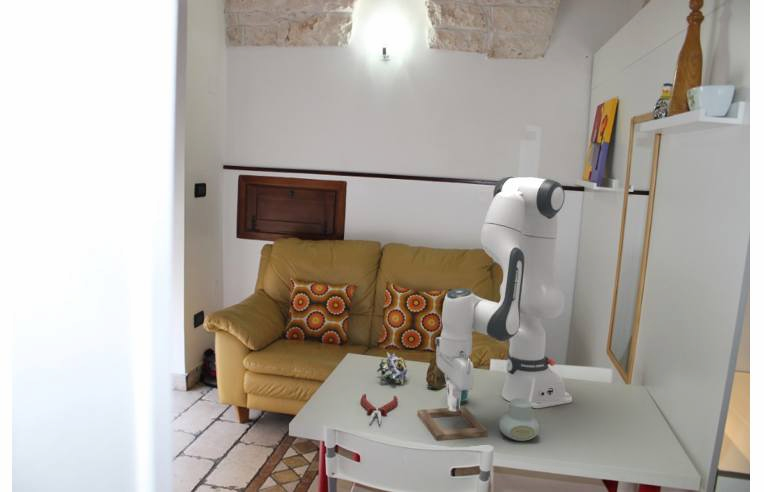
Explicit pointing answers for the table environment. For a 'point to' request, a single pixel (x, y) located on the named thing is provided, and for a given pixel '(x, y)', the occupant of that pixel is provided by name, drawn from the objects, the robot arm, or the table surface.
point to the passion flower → (394, 368)
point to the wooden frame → (440, 434)
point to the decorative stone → (435, 375)
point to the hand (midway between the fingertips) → (452, 393)
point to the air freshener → (519, 421)
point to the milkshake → (452, 397)
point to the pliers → (381, 411)
